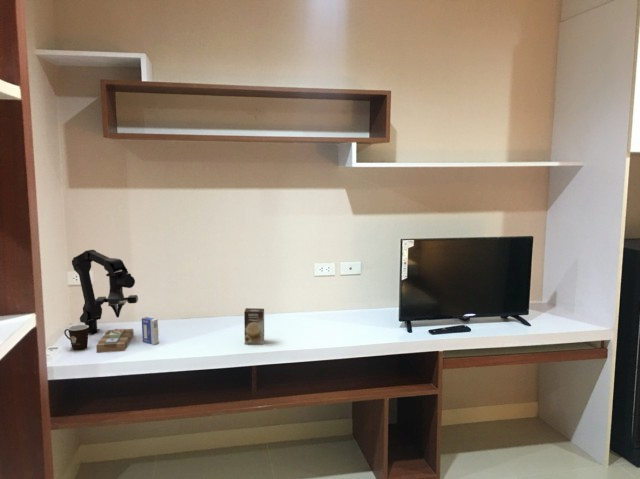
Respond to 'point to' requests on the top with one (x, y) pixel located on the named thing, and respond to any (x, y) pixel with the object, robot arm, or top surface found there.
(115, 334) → the three-pip button
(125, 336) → the button board
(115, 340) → the one-pip button
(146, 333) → the walkman
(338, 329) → the top surface
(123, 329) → the two-pip button
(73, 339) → the coffee mug
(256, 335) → the coffee box
